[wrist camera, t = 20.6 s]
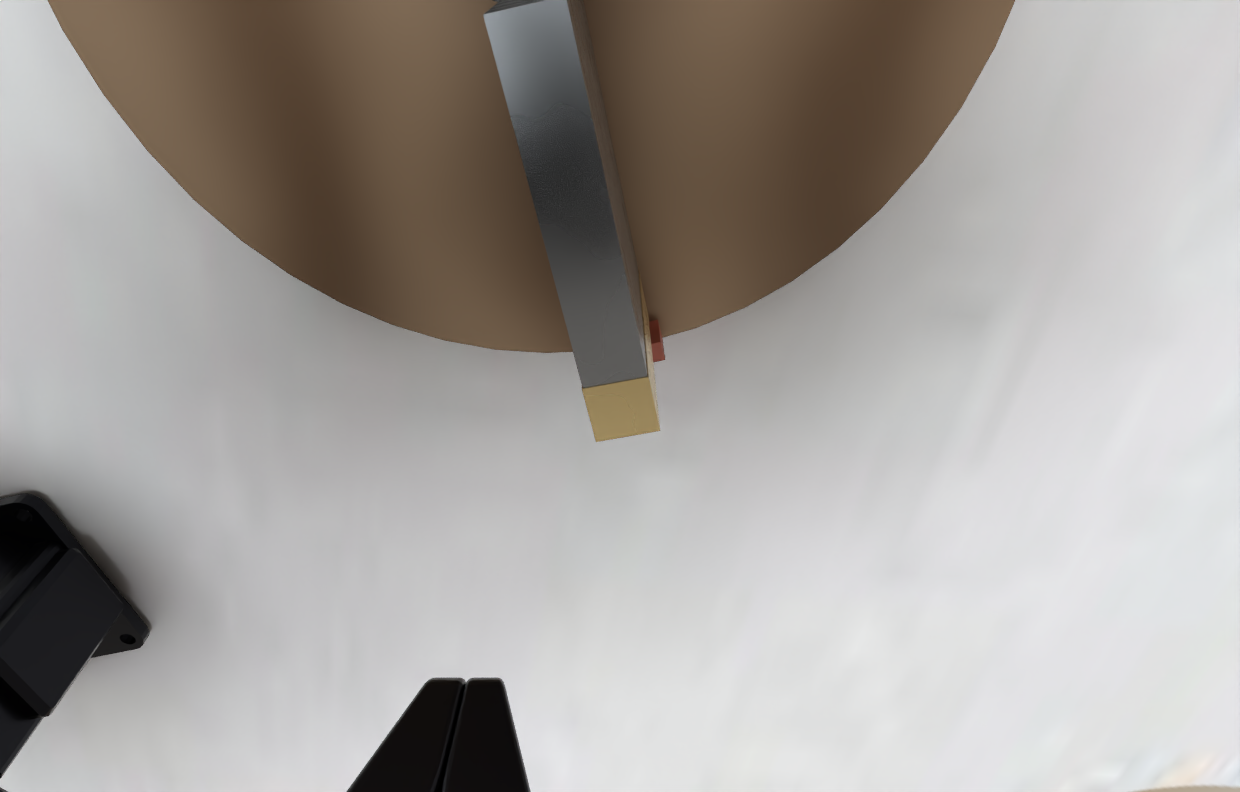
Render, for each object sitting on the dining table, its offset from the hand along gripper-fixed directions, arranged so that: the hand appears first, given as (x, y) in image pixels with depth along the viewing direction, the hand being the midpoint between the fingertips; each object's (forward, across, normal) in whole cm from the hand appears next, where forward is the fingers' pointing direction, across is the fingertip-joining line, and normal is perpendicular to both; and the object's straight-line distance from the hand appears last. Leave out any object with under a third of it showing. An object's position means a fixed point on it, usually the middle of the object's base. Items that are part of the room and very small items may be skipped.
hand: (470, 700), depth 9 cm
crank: (+12, -1, -4) cm, 12 cm away
